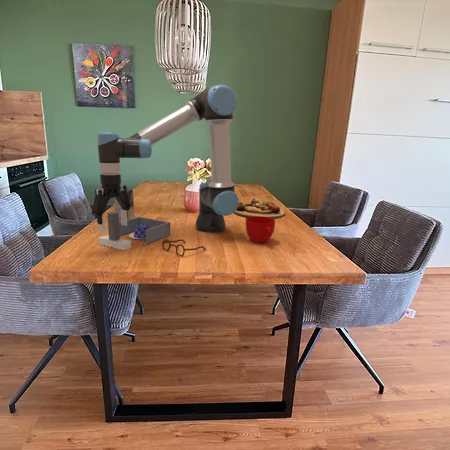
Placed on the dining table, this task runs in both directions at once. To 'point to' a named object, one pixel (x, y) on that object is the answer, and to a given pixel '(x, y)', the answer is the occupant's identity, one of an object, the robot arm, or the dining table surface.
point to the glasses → (178, 246)
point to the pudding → (140, 231)
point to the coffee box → (118, 209)
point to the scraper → (114, 234)
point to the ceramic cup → (260, 228)
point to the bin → (154, 233)
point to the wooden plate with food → (259, 209)
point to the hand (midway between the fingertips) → (113, 228)
